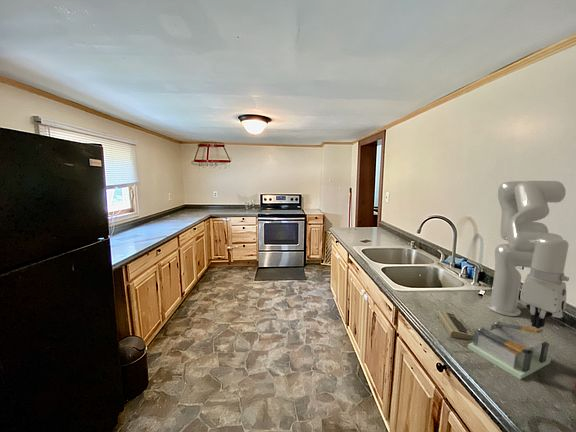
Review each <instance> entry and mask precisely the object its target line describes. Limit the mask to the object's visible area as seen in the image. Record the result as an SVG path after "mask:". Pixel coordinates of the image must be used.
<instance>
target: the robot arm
mask: <svg viewBox="0 0 576 432" xmlns="http://www.w3.org/2000/svg"><path fill="white" fill-rule="evenodd" d="M566 193H567V192H566V187H565V186H564V184H563V183H562V182H561V181H558V180H525V181H524V180H522V181H520V180H510V181H505V182H502V183H501V184H499V186H498V189H497V199H498V203H499V205H500V208H501V218H500V237H501V239H502V240H504V241H507V243H502V244H499V245H497V246H496V247H495V249H494V261H495V262H494V273H493V274H494V275H493V279H492V280H493V282H492V287H491V288H492V289H491V295H490V300H488V301H486V302H485V306H486V308H488V309H489V310H490V311H492V312H494V313H497V314H500V315H504V316H508V317H519V316H520V315H521V313H522V311H521V310H520V309H519V308H518V304H521V305H522V306H524V307H526V308H527V310H528V311H529V313H530V314H531V317H530V323H531V327H532V328H537V329H541V328H543V327H545V324H546V320H547V318H548V317H553V318H558V319H561V318H563V317H564V315H563V312H564V311H565V309H566V306H567V284H566V282H569V281H570V277H568V276H566V275H565V273H564V272H565V266H566V261H567V258H568V257H567V256H568V252H569V242H568V241H567V240H565V239H564V238H563V237H562V236H561V235H559V234H557V233H550V232H549V228H548V227H547V225H546V224H545V223H543V222H539V221H540V220H542V219H545V218H546V217H548V215H549V214H550V207H549V204H548V203H553V204H555V203H556V204H557V203H561V202H562V201H563V200H564V199H565V197H566ZM537 221H538V222H537ZM516 267H520V268H521V267H522V268H529V269H530V270H529V273H528V274H526V277H525V279H524V282H523V284H522V275H521V273H520V271H519V270H518V269H517V268H516ZM521 284H522V287H521ZM520 289H521V291H520ZM519 296H520V297H519ZM519 298H520V299H519Z"/></svg>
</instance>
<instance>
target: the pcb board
mask: <svg viewBox="0 0 576 432" xmlns="http://www.w3.org/2000/svg"><path fill="white" fill-rule="evenodd" d="M467 349H469V350H470V351H472V352H473V353H475V354H477V355H479V356H481V358H484V359H485V360H487V361H488V362H491V363H492V364H493V365H495V366H497V367H498V368H501V370H503V371H505V372H506V373H509V374H510V375H512V376H514V377H515V378H517V379H519V380H522V379H523V378H526V377H527V376H529V375H531V374H533V373H535V372H537V371H538V370H540V369H542V368H544V367H545V366H547V365H550V364H551V361H552V358H550V357H548V356H547V358H546V361H545V362H543V363H541V362H539V359H540V355H539V356H537V357H535V358H533V359H531V364H530V369H529V370H528V371H526V372H524V371H522V368H523V364H522V365H520V366H518V367H516V368H514V369H513V368H511V367H509V366H508V365H506V364H504V363H502V362H501V361H499V360H497V359H495V358H494V357H492V356H490V355H489V354H487V353H485V352H483V351H482V350H480V349H478V348H477V346H475V345H473V342H470V343H468V344H467Z"/></svg>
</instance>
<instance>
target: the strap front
mask: <svg viewBox="0 0 576 432" xmlns="http://www.w3.org/2000/svg"><path fill="white" fill-rule="evenodd" d="M485 329H486V328H485ZM485 329H484V327H481V328H479V329H477V331H479V332H481V333H482V334H484V335H487V336H489V337H491V338H493V339H495V340H497V341H499V342H501V343H503V344H505V345H507V346H509V347H511V348H513V349H515V350H517V351H519V352H522V353H524V352H525V351H527V349H526V348H524V347H522V346H520V345H517V344H515V343H513V342H511V341H508V340H506V339H504V338H502V337H500V336H498V335H496V334H493V333H491V332H489V331H490V330H488V329H487V330H488V331H487V330H485Z"/></svg>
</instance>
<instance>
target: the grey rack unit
mask: <svg viewBox="0 0 576 432" xmlns="http://www.w3.org/2000/svg"><path fill="white" fill-rule="evenodd" d="M499 322H500V323H502V322H501V321H499ZM483 328H484V327H483ZM484 329H485V330H487V331H489V332H491V333H493V334H496V335H498V336H500V337H502V338H504V339H506V340H508V341H511V342H513V343H515V344H517V345H520V346H522V347H524V348H526V349H527V351H525V352H524V353H522V352H519V351H517V350H515V349H513V348H511V347H509V346H507V345H505V344H503V343H501V342H499V341H497V340H495V339H493V338H491V337H489V336H487V335H484V334H482V333H481V332H479V331H478V329H477V330H476V329H475V330H474V332H473V333H474V334H473V339H472V340H473V345H475V346H477V348H478V349H480V350H482V351H483V352H485V353H487V354H489V355H490V356H492V357H494V358H495V359H497V360H499V361H501V362H502V363H504V364H506V365H508V366H509V367H511V368H513V369H514V368H516V367H518V366H520V365H522V364H523V368H522V371H524V372H526V371H528V370H529V369H530V364H531V359H533V358H535V357H537V356H539V355H540V359H539V362H541V363H543V362H545V361H546V358H547V357H548V352H549V346H550V343H548V342H547V341H544V342H543V341H541V340H538V339H535V338H534V337H532V336H529V335H527V334H525V333H523V332H521V331H518V329H512V328H507V327H501V326H496V325H494V323H491V325H490V330H488V329H486V328H484Z"/></svg>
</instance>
